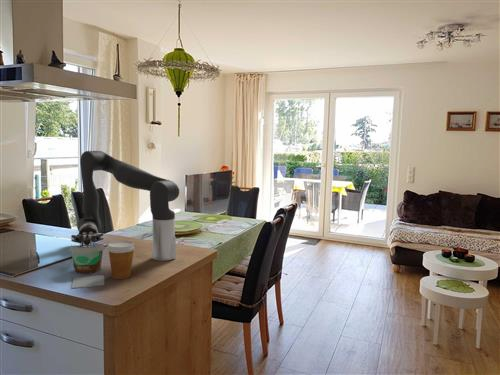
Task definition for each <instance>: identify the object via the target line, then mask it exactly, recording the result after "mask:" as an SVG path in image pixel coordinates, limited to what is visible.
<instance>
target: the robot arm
mask: <svg viewBox="0 0 500 375" xmlns="http://www.w3.org/2000/svg"><path fill="white" fill-rule="evenodd" d="M79 164H80V174H81V182H82V213H83V214H85V215H87V216H88V215H89V216H91V217H92V218H91V217H90V218H89V217H83V218H80V219H79V220H78V221H77V225H76V229H77V231H78V234H72V235H71V236H70V238H71V239H70V241H71V242H74V243H76V244H82V243H83V245H84V246H85V245H91V244H92V243H97V242H100V241H103V240H104V239H105V238H104V233H103V232H102V233H99V232H100V231H101V230H102V223H101V218H100V214H99V211H100V210H99V208H100V207H99V206H100V205H99V204H100V195H99V192H98V189H97V187H96V185H95V182H94V175H93V174H94V172H96V171H97V172H98V171H103V172H107V173H109V174H111V175H113V177H114V178H115V180H116V181H117V182H118V183H120V184H122V185H124V186H127V187H129V188H132V189H137V190H142V191H148V192H149V203H150V204H149V206H150V213H151V215H152V227H151V228H152V238H151V239H152V242H151V243H152V253H151V254H152V256H151V257H152V260H154V261H158V262H159V261H161V262H164V261H170V260H175V259H176V254H177V252H176V248H177V247H176V243H177V242H176V235H175V233H176V232H175V230H176V228H175V223H176V221H175V219H176V217H175V216H176V214H175V211H174V210H172V209H171V208H170V204H169V203H170V202H173V201H176V199H177V198H178V197H179V195H180V188H179V185H178V184H177V183H175V181H172V180H170V179H166V178H163V177H160V176H157V175H155V174H151V173H150V172H148V171H146V170H143V169H141V168H139V167H137V166H134V165H132V164H130V163H126V162H125V161H122V160H119V159H116V158H115V157H113V156H111V155H110V154H108V153H106V152H104V151H101V150H86V151H84V152H82V153H81V155H80V163H79Z"/></svg>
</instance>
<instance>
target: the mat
mask: <svg viewBox="0 0 500 375" xmlns="http://www.w3.org/2000/svg"><path fill="white" fill-rule="evenodd" d="M103 286H105V275H104V274H103V275H101V274H100V275H90V276H82V277H81V276H78V277H73V280H72V284H71V289H74V290H75V289H83V288H92V287H93V288H94V287H103Z"/></svg>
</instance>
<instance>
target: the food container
mask: <svg viewBox="0 0 500 375" xmlns="http://www.w3.org/2000/svg"><path fill="white" fill-rule="evenodd" d="M104 250H105V244H104V243H102V244H99V245H91V244H89V245H85V244H84V245H81V246H74V245H72V244H70V247H69V252H70V253H71V256H72V258H71V259H72V266H73V271H74V273H76V274H80V275H86V274H87V275H88V274H94V273H96V272H99V271H100V270H101V269H102V261H103V251H104Z"/></svg>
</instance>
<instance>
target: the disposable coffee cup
mask: <svg viewBox="0 0 500 375" xmlns="http://www.w3.org/2000/svg"><path fill="white" fill-rule="evenodd" d="M135 248H136V246H135V243H134V242H133V241H128V240H120V241H119V240H118V241H112V242H110V243H109V244H108V246H107V252H108V256H109V262H110V263H109V264H110V270H111V276H112V278H113V279H116V280H120V279H121V280H122V279H127V278H130V277H131V273H132V265H133V258H134V257H133V256H134V250H135Z"/></svg>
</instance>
